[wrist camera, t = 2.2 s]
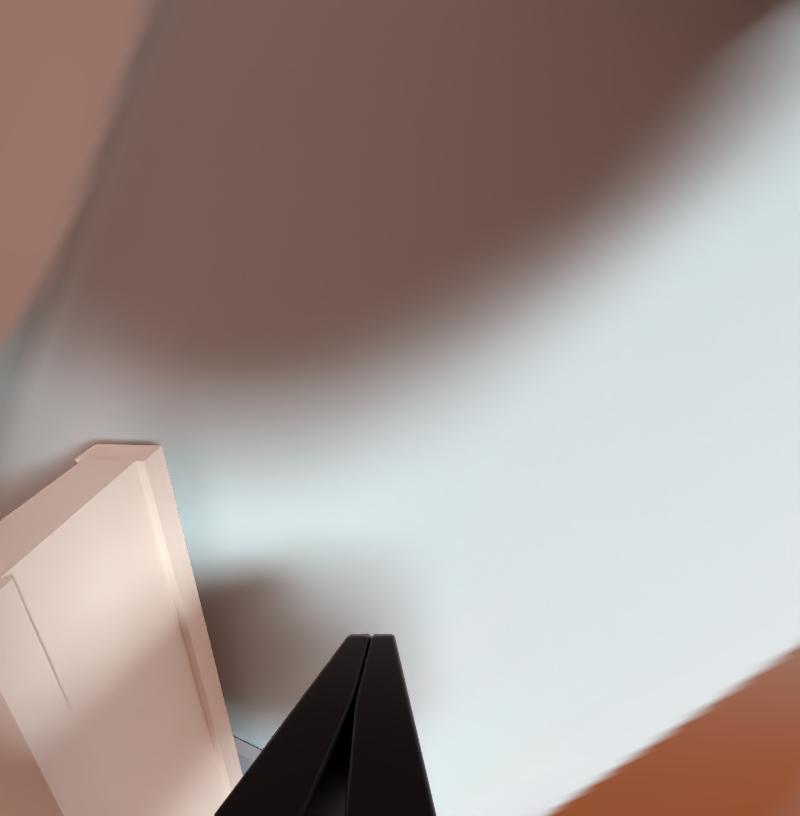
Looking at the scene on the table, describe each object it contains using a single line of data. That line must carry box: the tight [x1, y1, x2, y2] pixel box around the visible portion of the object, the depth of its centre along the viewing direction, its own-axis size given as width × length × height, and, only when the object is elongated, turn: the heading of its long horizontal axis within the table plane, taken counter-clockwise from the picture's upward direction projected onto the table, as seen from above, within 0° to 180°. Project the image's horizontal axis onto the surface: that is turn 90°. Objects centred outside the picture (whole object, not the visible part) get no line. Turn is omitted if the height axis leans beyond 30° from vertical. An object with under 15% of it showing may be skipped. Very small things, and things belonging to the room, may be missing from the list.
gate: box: [0, 444, 243, 816], centre depth 12 cm, size 2×14×5 cm, turn 1°
